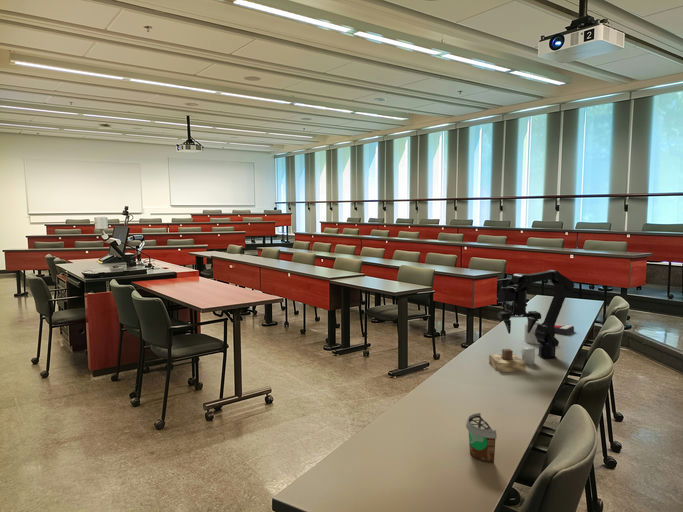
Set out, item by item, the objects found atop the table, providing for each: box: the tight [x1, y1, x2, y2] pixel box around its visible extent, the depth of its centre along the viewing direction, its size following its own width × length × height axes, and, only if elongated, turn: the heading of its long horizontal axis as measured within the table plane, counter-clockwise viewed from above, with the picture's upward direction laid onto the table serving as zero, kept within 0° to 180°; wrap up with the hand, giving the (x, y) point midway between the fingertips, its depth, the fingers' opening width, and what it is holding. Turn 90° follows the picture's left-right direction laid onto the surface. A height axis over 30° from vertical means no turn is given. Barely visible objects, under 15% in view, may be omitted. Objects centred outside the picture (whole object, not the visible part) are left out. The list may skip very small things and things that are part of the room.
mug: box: [523, 321, 543, 345], centre depth 247 cm, size 14×11×10 cm
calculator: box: [554, 322, 575, 336], centre depth 269 cm, size 11×4×15 cm
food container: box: [465, 412, 498, 464], centre depth 134 cm, size 12×6×10 cm, turn 5°
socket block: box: [488, 353, 527, 373], centre depth 209 cm, size 12×12×4 cm
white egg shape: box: [521, 346, 536, 366], centre depth 214 cm, size 6×6×7 cm
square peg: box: [501, 348, 514, 360], centre depth 208 cm, size 3×3×8 cm
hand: (518, 333), depth 217 cm, fingers open, 9 cm apart
